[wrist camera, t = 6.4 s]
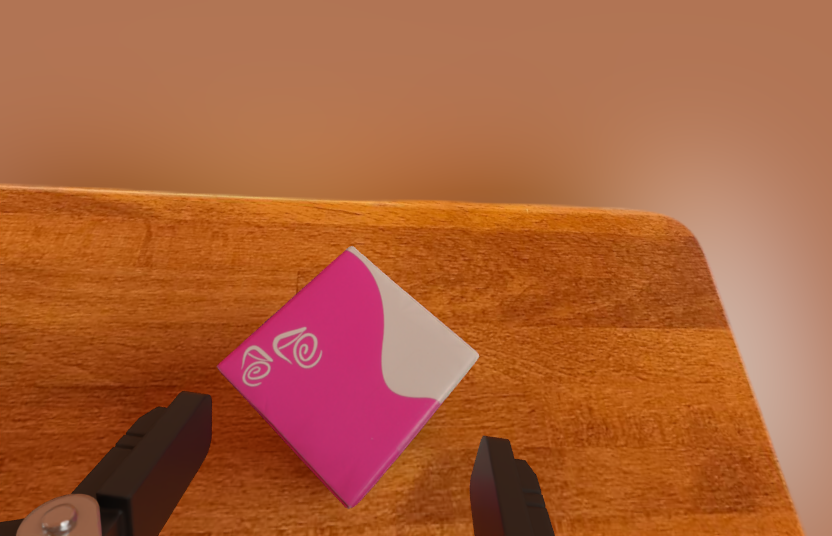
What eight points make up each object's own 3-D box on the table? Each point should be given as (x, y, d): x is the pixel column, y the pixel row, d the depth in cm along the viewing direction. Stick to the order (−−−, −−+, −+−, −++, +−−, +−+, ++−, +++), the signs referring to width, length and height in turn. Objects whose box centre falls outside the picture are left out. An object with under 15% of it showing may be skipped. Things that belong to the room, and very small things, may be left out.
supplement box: (358, 330, 25) (355, 236, 15) (436, 404, 24) (493, 358, 13) (278, 409, 23) (208, 364, 12) (360, 494, 22) (358, 523, 11)
